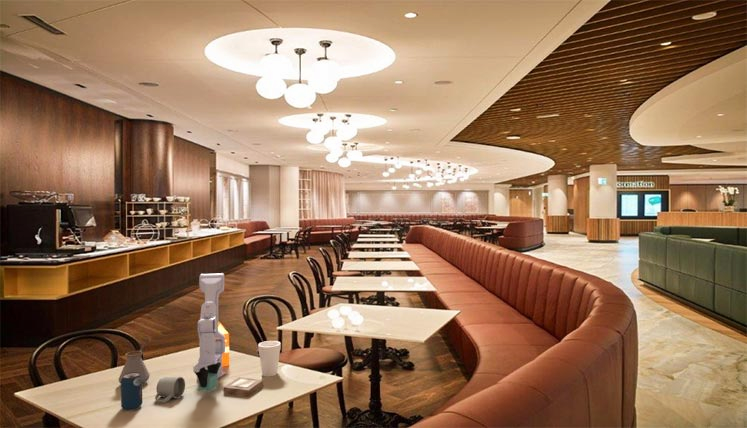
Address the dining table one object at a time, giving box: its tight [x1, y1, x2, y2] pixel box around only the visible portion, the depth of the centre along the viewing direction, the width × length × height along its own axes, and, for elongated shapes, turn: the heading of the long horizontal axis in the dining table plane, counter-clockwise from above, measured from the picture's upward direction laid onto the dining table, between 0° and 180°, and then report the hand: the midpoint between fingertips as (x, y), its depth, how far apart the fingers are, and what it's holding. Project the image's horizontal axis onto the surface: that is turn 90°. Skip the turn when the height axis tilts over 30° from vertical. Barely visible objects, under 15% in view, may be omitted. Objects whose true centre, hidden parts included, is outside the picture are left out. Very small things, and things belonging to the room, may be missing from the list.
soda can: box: [120, 372, 143, 412], centre depth 176 cm, size 7×7×12 cm
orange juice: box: [218, 321, 230, 368], centre depth 222 cm, size 8×9×20 cm
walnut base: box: [223, 376, 264, 397], centre depth 192 cm, size 11×11×3 cm
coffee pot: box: [118, 337, 151, 386], centre depth 203 cm, size 21×12×15 cm, turn 5°
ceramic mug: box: [154, 376, 186, 404], centre depth 184 cm, size 11×8×8 cm
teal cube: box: [197, 373, 219, 392], centre depth 187 cm, size 5×5×5 cm
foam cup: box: [257, 340, 282, 377], centre depth 210 cm, size 10×9×13 cm
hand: (207, 384), depth 187 cm, fingers closed on teal cube, 5 cm apart
